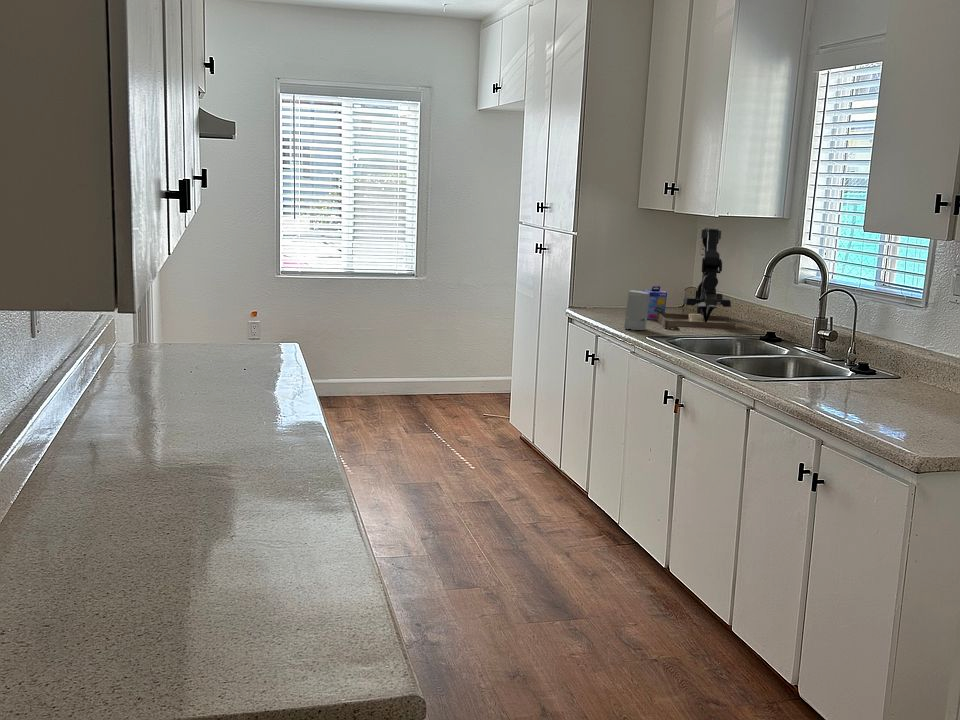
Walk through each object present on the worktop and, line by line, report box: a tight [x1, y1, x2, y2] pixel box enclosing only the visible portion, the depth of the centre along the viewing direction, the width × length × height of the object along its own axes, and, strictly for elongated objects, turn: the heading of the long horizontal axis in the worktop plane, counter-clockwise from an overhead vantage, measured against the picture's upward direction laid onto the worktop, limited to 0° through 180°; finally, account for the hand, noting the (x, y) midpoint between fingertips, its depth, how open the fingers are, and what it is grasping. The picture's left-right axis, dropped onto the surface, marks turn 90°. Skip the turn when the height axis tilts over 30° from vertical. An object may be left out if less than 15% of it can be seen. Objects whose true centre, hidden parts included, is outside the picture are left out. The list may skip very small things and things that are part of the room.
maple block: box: [688, 313, 704, 322], centre depth 396 cm, size 5×5×4 cm
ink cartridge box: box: [642, 285, 668, 320], centre depth 410 cm, size 10×6×14 cm, turn 101°
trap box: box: [656, 312, 736, 330], centre depth 397 cm, size 18×29×4 cm, turn 90°
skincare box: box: [623, 289, 650, 331], centre depth 383 cm, size 8×7×16 cm
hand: (705, 321), depth 397 cm, fingers closed
